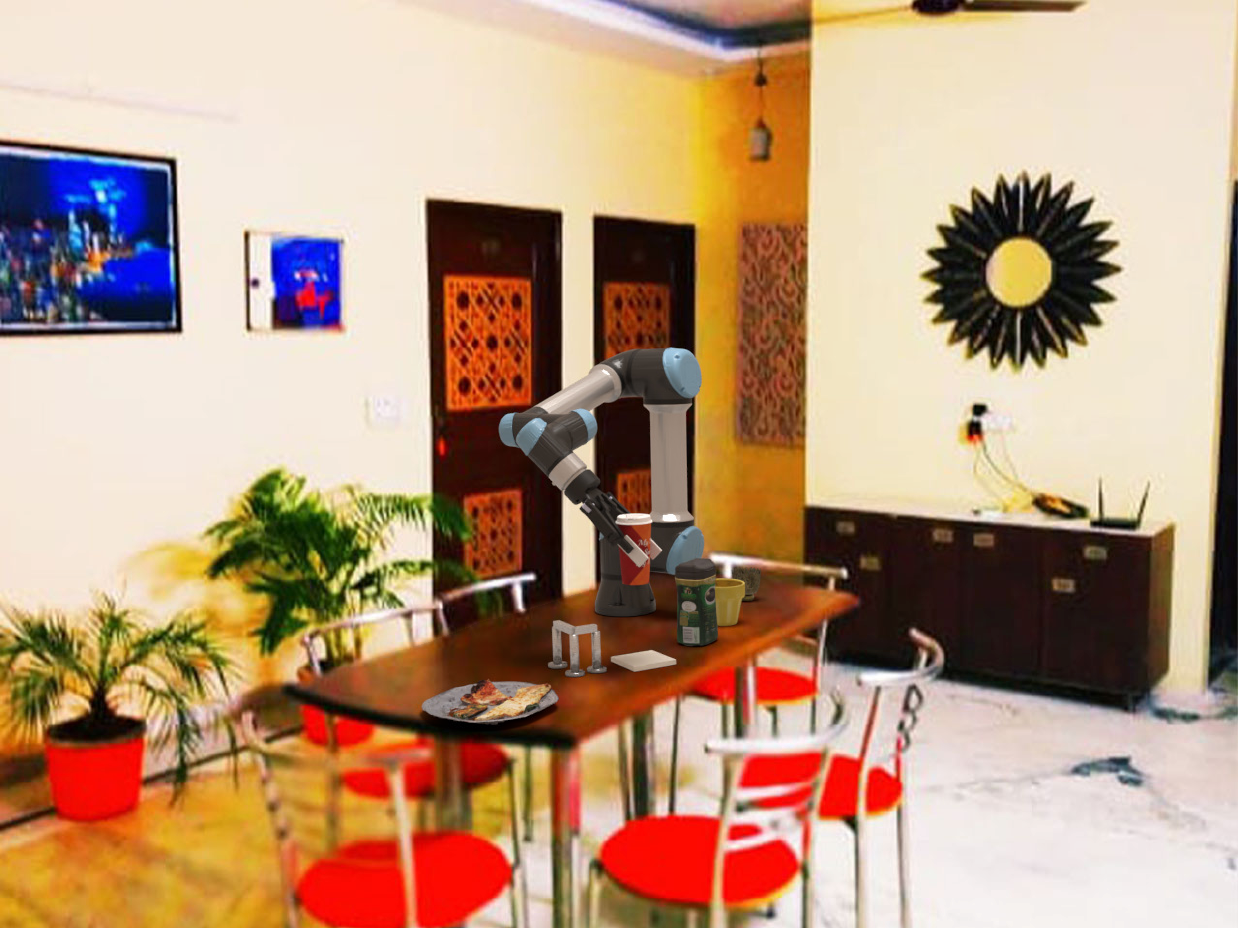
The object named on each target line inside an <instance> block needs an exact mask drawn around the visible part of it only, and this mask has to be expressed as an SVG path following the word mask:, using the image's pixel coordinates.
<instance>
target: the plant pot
mask: <svg viewBox="0 0 1238 928" xmlns="http://www.w3.org/2000/svg"><path fill="white" fill-rule="evenodd" d="M744 596H745V582H743V581H741V580H737V579H733V578H716V580H715V600H716V615H717V626H718V627H730V626H735V625H737V623H738V621H739V615H740V611H741V605H742V598H743V597H744Z"/></svg>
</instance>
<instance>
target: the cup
mask: <svg viewBox="0 0 1238 928" xmlns="http://www.w3.org/2000/svg"><path fill="white" fill-rule="evenodd" d="M761 573H762V569H761V568H760V569H759V568H755V567H753V568H752V567H750V568H749V569H748V568H747V567H745V568H744V567H743V568H742V567H741V566H739V567H738V568H737V567H736V568H734V570H733V569H731V576H732V577H731V578H732V579H737V580H741V581H743V582H745V596H744V597H743V598H742V601H744V602H752V601H753V600H755V599H754V598H755V595H754V594H757V593H758V591H759V588H760V584H761ZM742 601H741V602H742Z"/></svg>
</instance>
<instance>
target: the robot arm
mask: <svg viewBox="0 0 1238 928" xmlns="http://www.w3.org/2000/svg"><path fill="white" fill-rule="evenodd" d="M702 376H703V375H702V371H701V366H700V363H699V361H698V359H697V358H696V356H695V355H694V354H693V353H692V352H691V351H690V350H688V349H685V348H676V347H665V348H632V349H628V350H626V351H622V352H620V353H617V354H616V355H613V356H611V357H609V358H607V359H605V360H603V361H600V363H597V364H596V365H594V366H593V367H592V368H591V369H590V370H589V372H588V374H587V375H586V376H584V377H581V378H580V379H578V380H576V381H575V382H574V383H572V384H570V385H568V386H567V387H565V388H563V389H561V390H560V391H558V392H556V393H555V394H553V395H551V396H549V397H548V398H546V399H544V400H543V401H541V402H539V403H538V404H536V405H534V406H533V407H531V408H528V409H526V410H525V411H523V412H520V413H519V412H513V413H512V412H511V413H507V414H504V416H503V417H502V418H501V419H500V422H499V425H498V433H499V437H500V440H501V442H502V443H503V444H504V445H505V446H508V447H515V448H518V449H521V451H522V452H523V453H524V455H525V456H526V457H528V459H530V460H531V461H532V462H533V463H534V464H535V465H536V466H537V467H538V468H539V469H540V470H541V471H542V472H543V474H544V475H545V476H546V477H547V478H548V479H550V481H552V482H551V484H552V486H553V487H554V486H555V487H557V488H558V489H559V490H560V491H563V494H564V496H565V497H566V498H567V499H568V500H569V501H570V502H571V503H572V504H573V505H576V506H577V505H579V504H581V503H582V505H581V506H580V507H579V511H580V512H581V513H582V514H584V515H585V517H587V518H588V520H589V521H590V522H591V523H592V524H593V525H594V527H595V528H596V529H597V531H598V532H599V538H598V540H599V553H600V554H599V555H600V584H599V587H598V591H597V593H596V598H595V601H594V612H596V614H599V615H602V616H607V617H635V616H643V615H647V614H650V613H654V612H655V611H656V609H657V605H656V597H655V595H654V592H653V589H652V587H651V584H650V582H649V583H647V584H643V585H626V584H623V583H622V575H621V565H620V554H619V547H620V548H621V549H622V550H623V551H624V552H625V553H626V554H627V555H628V556H629V557H630V558H631V559H632V560H633V561H634V562H635V564H636V565H637V566H638V567H641V565H642V564H643V563H644V562H645V561H646V560H647V559H648V558H649V557H648V556H647V555H646V554H645V553H644V552H643V551H642V550H641V549H640V548H639V547H638V546H637V545H636V544H635V543H634V542H633V541H632V539H631V538H630V537H629V536H628V535H626V536H625V537H624V534H623V532H622V531H621V530H620V528H619V527H618V525H617V524H616V521H617V517H618V516H619V515H623V514H633V513H631V511H630V510H628V509H627V508H626V507H625V506H624V505H623V504H622V503H621V502H619V500H618V499H616V497H615V496H614V494H613V493H612V492H610V491H608V492H607V493H605V492H603V491H602V490H600V489H599V488H598V487H599V485H600V483H601V479H600V478H599V477H598V476H597V475H596V473H594V472H593V470H592V469H587V467H588V465H587V464H586V463H585V462H584V461H583V460H582V458H580V457H579V456H578V455H577V454H576V453H575V452H574V451H575V450H577V449H579V448H580V447H582V446H584V445H587V443H588V442H590V441H591V440H593V439H594V437H595V436H596V435H597V432H598V423H597V420H596V417H595V416H594V415H593V414H592V413H591V412H590V411H592V410H594V409H595V408H597V407H599V406H600V405H602V404H603V403H613V402H615V401H617V400H618V399H621V398H622V399H623V398H642V399H643V400H642V401H643V407H644V408H645V409H647V410H648V411H649V422H650V423H649V424H650V425H649V426H650V427H649V429H650V432H649V435H650V480H651V481H650V484H651V486H650V487H651V488H650V489H651V511H650V513H649V514H648V515H650V517H651V520H652V521H653V522H652V523H651V543H650V572H651V573H652V572H653V573H662V574H668V575H672V576H675V567H676V566H678V565H679V564H681V563H684V562H687V561H690V560H693V559H695V558H702V557H703V554H704V549H705V535H704V534H703V531H702V529H700V528H699V527H697V526H695V518H694V517H695V516H693V515H692V514H691V513H690V512H689V511H688V477H687V476H688V472H687V471H688V467H687V463H688V462H687V459H688V458H687V416H686V415H687V411H688V410H689V409H690V407H691V406H692V405H693V398H694V397H696V396H697V395H698V394H699V392H700V389H701V387H702V382H703V381H702V380H703V379H702Z"/></svg>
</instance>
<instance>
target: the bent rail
mask: <svg viewBox="0 0 1238 928" xmlns="http://www.w3.org/2000/svg"><path fill="white" fill-rule="evenodd" d="M552 625H553V626H551V632H552V633H551V634H552V635H551V637H552V638H551V639H552V660H553V661H550V662H548V663H547V667H548V668H549V669H553V670H555V669H556V670H558V669H560V670H561V669H565V668H567V667H568V662H567V661H563V656H562V653H563V652H562V632H563V633H565V634H568V635H569V657H570V658H569V659H570V662H569V663H570V664H569V665H570V669H567V670H565V672H564V673H565V677H567V678H568V677H569V678H579V677H580V678H581V677H584V676H585V675H586V672H587V673H590V674H602V673H606V672H607V666H605V665H602V656H601V655H602V654H601V653H602V651H601V649H602V647H601V630H598V624H596V623H590V624H583V625H578V626H575V625H572V624H570V623H568V622H566V621H562V620H560V619H558V620H553V621H552ZM584 634H586V635H587V634H591V639H590V640H591V665H590V666H587V667H586V671H585V670H584V669H580V653H579V652H580V646H579V645H580V644H579V643H580V642H579V635H584Z"/></svg>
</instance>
